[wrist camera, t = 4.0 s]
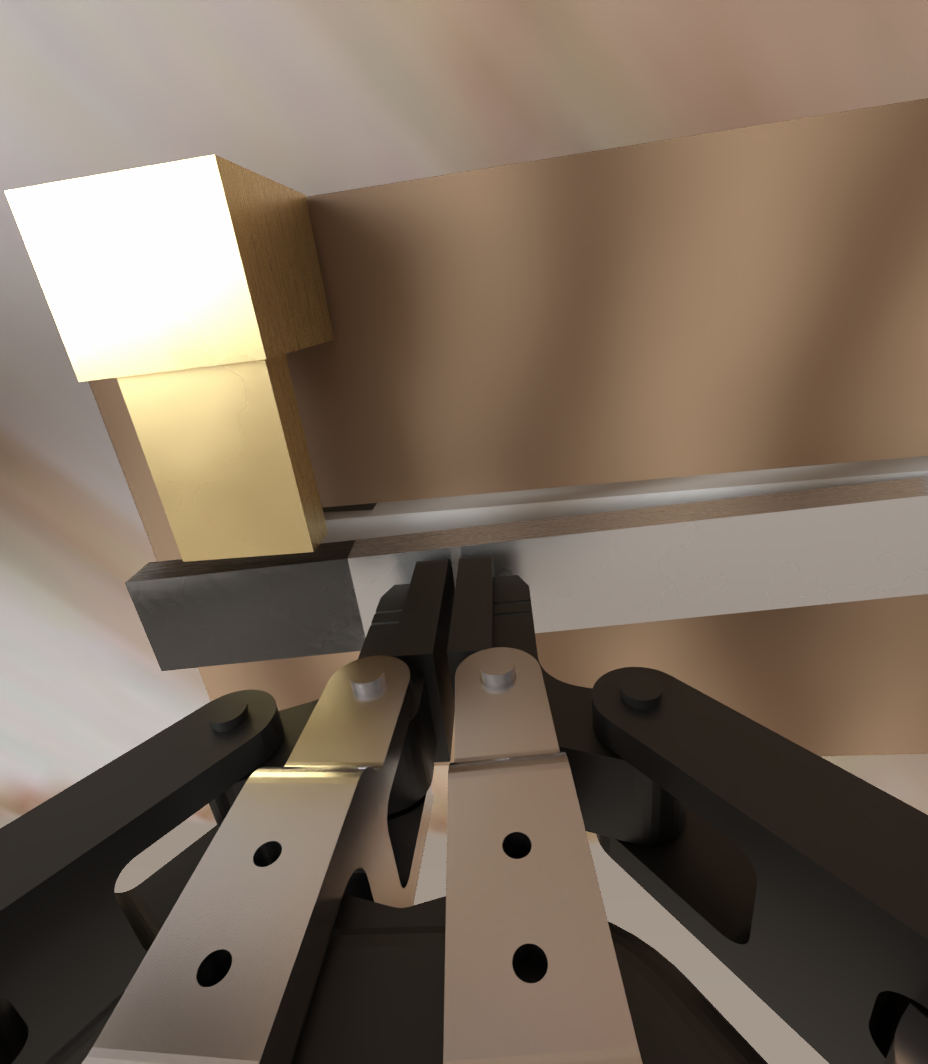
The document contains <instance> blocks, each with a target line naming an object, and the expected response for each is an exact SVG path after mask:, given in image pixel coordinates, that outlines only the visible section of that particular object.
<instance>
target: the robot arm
mask: <svg viewBox="0 0 928 1064" xmlns="http://www.w3.org/2000/svg"><path fill="white" fill-rule="evenodd" d="M454 716H455V761H454V762H453V763H450V764H449V772H448V817H447V875H446V879H447V880H446V896H445V897H442V898H438V899H435V900H432V901H428V902H424V903H421V904H418V905H414V899H415V894H416V889H417V884H418V878H419V873H420V868H421V863H422V857H423V852H424V847H425V841H426V836H427V831H428V826H429V820H430V815H431V810H432V804H433V793H432V787H431V782H432V777H433V769H434V763H435V762H450V760H451V749H452V738H453V727H454ZM208 803H209V805H210V808H211V810H212V813H213V815H214V818H215V820H216V823H217V825H216V826H215V827H214V828H213V829H211V830H210V831H209V832H207V833H206V834H205V835H203V836H202V837H201V838H199V840H197V841H196V842H194V843H193V844H192V845H190V846H189V847H188V848H186V849H185V850H184V851H183V852H181V853H180V854H179V855H178V856H176V857H175V858H173V859H172V860H171V861H170V862H168V863H167V864H166V865H164V866H163V867H162V868H161V869H159V870H158V871H157V872H155V873H154V874H153V875H151V876H150V877H149V878H148V879H146V880H145V881H144V882H142V883H141V884H140V885H138V886H137V887H135V888H133V889H132V890H129V891H127V892H123V893H114V887H115V883H116V880H117V878H118V876H119V874H120V873H121V871H122V870H123V868H124V867H125V866H126V865H127V864H128V863H129V862H130V861H131V860H132V859H133V858H134V857H136V856H137V855H138V854H140V853H141V852H142V851H144V850H145V849H146V848H148V847H149V846H151V845H152V844H153V843H154V842H156V841H157V840H159V839H160V838H161V837H163V836H164V835H165V834H167V833H168V832H170V831H171V830H172V829H174V828H175V827H176V826H178V825H179V824H181V823H182V822H183V821H185V820H186V819H187V818H189V817H190V816H191V815H193V814H194V813H196V812H197V811H198V810H200V809H201V808H202V807H204V806H205V805H206V804H208ZM586 831H588V832H592V833H596V834H597V838H598V840H599V843H600V845H601V846H602V848H603V849H604V851H605V852H606V853H607V854H608V855H609V856H610V857H611V858H612V859H613V860H614V861H615V862H616V863H617V864H618V865H619V866H621V868H623V869H624V870H625V871H626V872H627V873H628V874H629V875H630V876H631V877H632V878H633V879H634V880H635V881H637V883H638V884H640V885H641V886H642V887H643V888H644V889H645V890H646V891H647V892H648V893H649V894H650V895H651V896H652V897H653V898H654V899H656V900H657V901H658V902H659V903H660V904H661V905H662V906H663V907H664V908H665V909H666V910H667V911H668V912H669V913H670V914H672V916H674V917H675V918H676V919H677V920H678V921H679V922H680V923H681V924H682V925H683V926H684V927H685V928H686V929H687V930H688V931H690V932H691V933H692V934H693V935H694V936H695V937H696V938H697V939H698V940H699V941H700V942H701V943H702V944H703V945H704V946H705V947H706V948H708V949H709V950H710V951H711V952H712V953H713V954H714V955H715V956H716V957H717V958H718V959H719V960H720V961H721V962H722V963H723V964H725V965H726V966H727V967H728V968H729V969H730V970H731V971H732V972H733V973H734V974H735V975H736V976H737V977H738V978H739V979H741V980H742V981H743V982H744V983H745V984H746V985H747V986H748V987H749V988H750V989H751V990H752V991H753V992H754V993H755V994H757V996H758V997H760V998H761V999H762V1000H763V1001H764V1002H765V1003H766V1004H767V1005H768V1006H769V1007H770V1008H771V1009H772V1010H773V1011H775V1013H777V1014H778V1015H779V1016H780V1017H781V1018H782V1019H783V1020H784V1021H785V1022H786V1023H787V1024H788V1025H789V1026H790V1027H791V1028H793V1029H794V1030H795V1031H796V1032H797V1033H798V1034H799V1035H800V1036H801V1037H802V1038H803V1039H804V1040H805V1041H806V1042H807V1043H809V1044H810V1045H811V1046H812V1047H813V1048H814V1049H815V1050H816V1051H817V1052H818V1053H819V1054H820V1055H821V1056H822V1057H823V1058H824V1059H826V1061H828V1062H829V1063H830V1064H928V815H926V814H924V813H923V812H921V811H919V810H917V809H915V808H913V807H912V806H910V805H908V804H906V803H904V802H902V801H901V800H899V799H897V798H895V797H893V796H891V795H890V794H888V793H886V792H884V791H882V790H880V789H879V788H877V787H875V786H873V785H871V784H869V783H867V782H866V781H864V780H862V779H860V778H858V777H856V776H855V775H853V774H851V773H849V772H847V771H845V770H844V769H842V768H840V767H838V766H836V765H834V764H833V763H831V762H829V761H827V760H825V759H823V758H822V757H820V756H818V755H816V754H814V753H812V752H811V751H809V750H807V749H805V748H803V747H801V746H799V745H798V744H796V743H794V742H792V741H790V740H788V739H787V738H785V737H783V736H781V735H779V734H777V733H776V732H774V731H772V730H770V729H768V728H766V727H765V726H763V725H761V724H759V723H757V722H755V721H754V720H752V719H750V718H748V717H746V716H744V715H743V714H741V713H739V712H737V711H735V710H733V709H731V708H730V707H728V706H726V705H724V704H722V703H720V702H719V701H717V700H715V699H713V698H711V697H709V696H708V695H706V694H704V693H702V692H700V691H698V690H697V689H695V688H693V687H691V686H689V685H687V684H686V683H684V682H682V681H680V680H678V679H676V678H675V677H673V676H671V675H669V674H666V673H664V672H662V671H659V670H655V669H651V668H645V667H624V668H619V669H615V670H612V671H610V672H608V673H606V674H604V675H603V676H601V677H600V678H599V679H598V680H597V681H596V682H595V684H594V686H593V688H587V687H581V686H576V685H571V684H568V683H565V682H562V681H560V680H558V679H556V678H554V677H552V676H551V675H549V674H548V673H547V672H546V671H545V670H544V669H543V668H542V666H541V664H540V662H539V659H538V653H537V645H536V637H535V629H534V621H533V614H532V605H531V597H530V589H529V585H528V584H527V583H525V582H524V581H523V580H522V579H521V578H520V577H519V576H518V575H511V576H499V577H495V573H494V564H493V557H492V555H487V556H475V557H462V558H459V563H458V571H457V579H456V587H455V585H454V577H453V570H452V564H451V561H450V559H439V560H427V561H417V562H416V564H415V568H414V571H413V575H412V578H411V582H410V584H398V585H394V586H393V587H392V588H390V589H389V590H388V591H387V592H386V593H385V594H384V595H383V596H382V597H381V598H380V601H379V603H378V606H377V609H376V614H374V617H373V619H372V622H371V626H370V628H369V630H368V633H367V636H366V638H365V641H364V644H363V646H362V649H361V652H360V654H359V657H358V660H355V661H353V662H350V663H348V664H347V665H345V666H343V667H342V668H340V669H339V670H338V671H337V672H335V673H334V675H333V676H332V677H331V678H330V680H329V681H328V683H327V685H326V687H325V689H324V691H323V693H322V695H321V697H320V699H317V700H314V701H311V702H308V703H305V704H301V705H298V706H294V707H291V708H287V709H284V710H280V711H278V708H277V705H276V701H275V699H274V698H273V696H272V695H271V694H269V693H267V692H265V691H262V690H254V689H251V690H241V691H236V692H232V693H229V694H226V695H224V696H221V697H219V698H217V699H215V700H213V701H211V702H209V703H208V704H206V705H204V706H203V707H201V708H199V709H198V710H196V711H195V712H193V713H191V714H190V715H188V716H186V717H185V718H183V719H181V720H180V721H178V722H176V723H175V724H173V725H171V726H170V727H168V728H166V729H165V730H163V731H161V732H160V733H158V734H156V735H155V736H153V737H151V738H150V739H148V740H146V741H145V742H143V743H142V744H140V745H138V746H137V747H135V748H133V749H132V750H130V751H128V752H127V753H125V754H123V755H122V756H120V757H118V758H117V759H115V760H113V761H112V762H110V763H108V764H107V765H105V766H103V767H102V768H100V769H98V770H97V771H95V772H93V773H92V774H90V775H89V776H87V777H85V778H84V779H82V780H80V781H79V782H77V783H75V784H74V785H72V786H70V787H69V788H67V789H65V790H64V791H62V792H60V793H59V794H57V795H55V796H54V797H52V798H50V799H49V800H47V801H45V802H44V803H42V804H40V805H39V806H37V807H35V808H34V809H32V810H31V811H29V812H27V813H26V814H24V815H22V816H21V817H19V818H17V819H16V820H14V821H12V822H11V823H9V824H7V825H6V826H4V827H2V828H1V829H0V1064H768V1063H767V1062H766V1061H765V1060H764V1059H763V1058H762V1057H761V1056H760V1055H759V1054H758V1053H757V1052H756V1051H755V1050H754V1048H753V1047H752V1046H751V1045H750V1044H749V1043H748V1042H747V1041H746V1040H745V1039H744V1038H743V1037H742V1036H741V1035H740V1034H739V1033H738V1032H737V1031H736V1029H735V1028H734V1027H733V1026H732V1025H731V1024H730V1023H729V1022H728V1021H727V1020H726V1019H725V1018H724V1017H723V1016H722V1015H721V1013H719V1011H718V1010H717V1009H716V1008H715V1007H714V1006H713V1005H712V1004H711V1003H710V1002H709V1001H708V1000H707V999H706V998H705V997H704V995H703V994H702V993H701V992H700V991H699V990H698V989H697V988H696V987H695V986H694V985H693V984H692V983H691V982H690V981H689V980H688V979H687V978H686V977H685V976H684V975H683V974H682V973H681V972H680V971H679V970H678V969H677V968H676V967H675V966H674V965H673V964H672V963H671V962H669V961H668V960H667V959H666V958H665V957H663V956H662V955H661V954H660V953H659V952H658V951H656V950H655V949H654V948H652V947H650V946H649V945H648V944H646V943H645V942H643V941H642V940H641V939H639V938H638V937H636V936H635V935H633V934H631V933H629V932H627V931H625V930H623V929H622V928H620V927H618V926H616V925H614V924H612V923H610V922H608V921H607V917H606V912H605V909H604V904H603V900H602V896H601V892H600V888H599V884H598V880H597V876H596V871H595V867H594V863H593V859H592V855H591V851H590V847H589V843H588V839H587V834H586Z"/></svg>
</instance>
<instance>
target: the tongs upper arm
mask: <svg viewBox="0 0 928 1064" xmlns="http://www.w3.org/2000/svg"><path fill="white" fill-rule="evenodd" d="M487 555H492V557H493V564H494V573H495V577H499V576H511V575H518V576H519V577H520V578H521V579H522V580H523V581H524V582H525V583H527V584H528V585H529V589H530V597H531V605H532V614H533V621H534V629H535V633H544V632H554V631H564V630H574V629H584V628H594V627H603V626H613V625H623V624H633V623H643V622H653V621H663V620H673V619H683V618H693V617H703V616H713V615H723V614H733V613H743V612H752V611H762V610H772V609H782V608H792V607H802V606H812V605H822V604H832V603H842V602H852V601H862V600H872V599H882V598H892V597H901V596H911V595H921V594H928V477H919V478H910V479H901V480H892V481H883V482H874V483H865V484H856V485H847V486H837V487H828V488H819V489H810V490H801V491H792V492H783V493H774V494H765V495H756V496H747V497H738V498H729V499H720V500H711V501H702V502H693V503H684V504H675V505H666V506H657V507H648V508H638V509H629V510H620V511H611V512H602V513H593V514H584V515H575V516H566V517H557V518H548V519H539V520H530V521H521V522H512V523H503V524H494V525H485V526H476V527H467V528H458V529H449V530H439V531H430V532H421V533H412V534H403V535H394V536H385V537H376V538H367V539H358V540H349V541H340V542H331V543H322V544H319V546H318V547H317V548H316V550H315V551H314V552H307V553H294V554H281V555H267V556H254V557H241V558H227V559H214V560H201V561H188V562H183V560H182V559H177V560H168V561H159V562H150V563H148V564H147V565H146V566H144V567H143V568H142V569H141V570H140V571H139V572H137V573H136V574H135V575H134V576H133V577H132V578H130V579H129V580H128V581H127V582H126V583H125V584H126V586H127V589H128V591H129V593H130V596H131V598H132V601H133V603H134V605H135V608H136V610H137V613H138V615H139V617H140V620H141V622H142V625H143V627H144V629H145V632H146V634H147V637H148V639H149V641H150V644H151V646H152V649H153V651H154V653H155V656H156V658H157V661H158V663H159V666H160V668H161V670H162V671H166V670H176V669H186V668H196V667H206V666H216V665H226V664H236V663H246V662H256V661H266V660H276V659H286V658H296V657H305V656H315V655H325V654H335V653H345V652H355V651H361V649H362V646H363V644H364V641H365V638H366V636H367V633H368V630H369V628H370V626H371V622H372V619H373V617H374V614H376V609H377V606H378V603H379V601H380V598H381V597H382V596H383V595H384V594H385V593H386V592H387V591H388V590H389V589H390V588H392V587H393V586H394V585H398V584H410V582H411V578H412V575H413V571H414V568H415V564H416V562H417V561H427V560H439V559H450V561H451V564H452V570H453V577H454V585H455V587H456V579H457V571H458V563H459V558H462V557H475V556H487Z"/></svg>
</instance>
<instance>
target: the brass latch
mask: <svg viewBox="0 0 928 1064" xmlns="http://www.w3.org/2000/svg"><path fill="white" fill-rule="evenodd" d="M5 194H6V197H7V199H8V202H9V204H10V207H11V209H12V212H13V214H14V217H15V220H16V222H17V225H18V227H19V230H20V232H21V235H22V238H23V240H24V243H25V245H26V248H27V250H28V253H29V256H30V258H31V261H32V263H33V266H34V268H35V271H36V273H37V276H38V279H39V281H40V284H41V286H42V289H43V291H44V294H45V297H46V299H47V302H48V304H49V307H50V309H51V312H52V315H53V317H54V320H55V322H56V325H57V327H58V330H59V333H60V335H61V338H62V340H63V343H64V345H65V348H66V350H67V353H68V356H69V358H70V361H71V363H72V366H73V368H74V371H75V374H76V376H77V379H78V381H79V382H83V381H92V380H100V379H108V378H117V380H118V383H119V386H120V389H121V391H122V394H123V397H124V400H125V402H126V405H127V408H128V411H129V414H130V416H131V419H132V422H133V425H134V427H135V430H136V433H137V436H138V438H139V441H140V444H141V447H142V449H143V452H144V455H145V458H146V461H147V463H148V466H149V469H150V472H151V474H152V477H153V480H154V483H155V485H156V488H157V491H158V494H159V496H160V499H161V502H162V505H163V507H164V510H165V513H166V516H167V519H168V521H169V524H170V527H171V530H172V532H173V535H174V538H175V541H176V543H177V546H178V549H179V552H180V554H181V557H182V560H183V562H188V561H201V560H214V559H227V558H241V557H254V556H267V555H281V554H294V553H307V552H314V551H315V550H316V548H317V547H318V546H319V544H320V543H321V542H322V540H323V539H324V538H325V536H326V535H327V534H328V530H327V526H326V522H325V518H324V513H323V509H322V505H321V501H320V497H319V492H318V488H317V484H316V480H315V476H314V471H313V467H312V463H311V459H310V455H309V451H308V446H307V442H306V438H305V434H304V430H303V425H302V421H301V417H300V413H299V409H298V404H297V400H296V396H295V392H294V388H293V384H292V379H291V375H290V371H289V367H288V363H287V358H286V353H290V352H293V351H296V350H300V349H303V348H307V347H310V346H314V345H317V344H321V343H324V342H328V341H331V340H334V334H333V329H332V324H331V319H330V314H329V309H328V304H327V299H326V294H325V289H324V284H323V280H322V275H321V270H320V265H319V260H318V255H317V250H316V245H315V240H314V235H313V230H312V225H311V220H310V215H309V210H308V206H307V201H306V196H305V195H304V194H302V193H299V192H297V191H295V190H293V189H290V188H288V187H286V186H284V185H281V184H279V183H277V182H275V181H273V180H270V179H268V178H266V177H264V176H261V175H259V174H257V173H255V172H252V171H250V170H248V169H246V168H243V167H241V166H239V165H237V164H234V163H232V162H230V161H228V160H226V159H223V158H221V157H219V156H217V155H209V156H204V157H198V158H192V159H186V160H180V161H175V162H169V163H163V164H157V165H151V166H146V167H140V168H134V169H128V170H122V171H117V172H111V173H105V174H99V175H93V176H88V177H82V178H76V179H70V180H64V181H58V182H53V183H47V184H41V185H35V186H29V187H24V188H18V189H12V190H6V191H5Z"/></svg>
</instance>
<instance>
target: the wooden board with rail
mask: <svg viewBox="0 0 928 1064" xmlns="http://www.w3.org/2000/svg"><path fill="white" fill-rule="evenodd" d="M306 201H307V206H308V210H309V215H310V220H311V225H312V230H313V235H314V240H315V245H316V250H317V255H318V260H319V265H320V270H321V275H322V280H323V284H324V289H325V294H326V299H327V304H328V309H329V314H330V319H331V324H332V329H333V334H334V340H331V341H328V342H324V343H321V344H317V345H314V346H310V347H307V348H303V349H300V350H296V351H293V352H290V353H286V358H287V363H288V367H289V371H290V375H291V379H292V384H293V388H294V392H295V396H296V400H297V404H298V409H299V413H300V417H301V421H302V425H303V430H304V434H305V438H306V442H307V446H308V451H309V455H310V459H311V463H312V467H313V471H314V476H315V480H316V484H317V488H318V492H319V497H320V501H321V505H322V509H323V513H324V518H325V522H326V526H327V530H328V534H327V535H326V536H325V538H324V539H323V540H322V542H321V543H320V544H322V543H331V542H340V541H349V540H358V539H367V538H376V537H385V536H394V535H403V534H412V533H421V532H430V531H439V530H449V529H458V528H467V527H476V526H485V525H494V524H503V523H512V522H521V521H530V520H539V519H548V518H557V517H566V516H575V515H584V514H593V513H602V512H611V511H620V510H629V509H638V508H648V507H657V506H666V505H675V504H684V503H693V502H702V501H711V500H720V499H729V498H738V497H747V496H756V495H765V494H774V493H783V492H792V491H801V490H810V489H819V488H828V487H837V486H847V485H856V484H865V483H874V482H883V481H892V480H901V479H910V478H919V477H928V98H927V99H921V100H914V101H908V102H902V103H895V104H889V105H883V106H876V107H870V108H864V109H858V110H851V111H845V112H839V113H832V114H826V115H820V116H813V117H807V118H801V119H794V120H788V121H782V122H776V123H769V124H763V125H757V126H750V127H744V128H738V129H731V130H725V131H719V132H713V133H706V134H700V135H694V136H687V137H681V138H675V139H668V140H662V141H656V142H649V143H643V144H637V145H631V146H624V147H618V148H612V149H605V150H599V151H593V152H586V153H580V154H574V155H568V156H561V157H555V158H549V159H542V160H536V161H530V162H523V163H517V164H511V165H504V166H498V167H492V168H486V169H479V170H473V171H467V172H460V173H454V174H448V175H441V176H435V177H429V178H423V179H416V180H410V181H404V182H397V183H391V184H385V185H378V186H372V187H366V188H359V189H353V190H347V191H341V192H334V193H328V194H322V195H315V196H309V197H306ZM88 382H89V384H90V387H91V389H92V392H93V395H94V397H95V400H96V402H97V405H98V408H99V410H100V413H101V416H102V418H103V421H104V423H105V426H106V429H107V431H108V434H109V436H110V439H111V442H112V444H113V447H114V449H115V452H116V455H117V457H118V460H119V463H120V465H121V468H122V470H123V473H124V476H125V478H126V481H127V483H128V486H129V489H130V491H131V494H132V497H133V499H134V502H135V504H136V507H137V510H138V512H139V515H140V517H141V520H142V523H143V525H144V528H145V530H146V533H147V536H148V538H149V541H150V544H151V546H152V549H153V551H154V554H155V557H156V559H157V562H159V561H168V560H177V559H182V557H181V554H180V552H179V549H178V546H177V543H176V541H175V538H174V535H173V532H172V530H171V527H170V524H169V521H168V519H167V516H166V513H165V510H164V507H163V505H162V502H161V499H160V496H159V494H158V491H157V488H156V485H155V483H154V480H153V477H152V474H151V472H150V469H149V466H148V463H147V461H146V458H145V455H144V452H143V449H142V447H141V444H140V441H139V438H138V436H137V433H136V430H135V427H134V425H133V422H132V419H131V416H130V414H129V411H128V408H127V405H126V402H125V400H124V397H123V394H122V391H121V389H120V386H119V383H118V380H117V378H108V379H100V380H92V381H88ZM535 637H536V645H537V653H538V659H539V662H540V664H541V666H542V668H543V669H544V670H545V671H546V672H547V673H548V674H549V675H551V676H552V677H554V678H556V679H558V680H560V681H562V682H565V683H568V684H571V685H576V686H581V687H587V688H593V686H594V684H595V682H596V681H597V680H598V679H599V678H600V677H601V676H603V675H604V674H606V673H608V672H610V671H612V670H615V669H619V668H624V667H645V668H651V669H655V670H659V671H662V672H664V673H666V674H669V675H671V676H673V677H675V678H676V679H678V680H680V681H682V682H684V683H686V684H687V685H689V686H691V687H693V688H695V689H697V690H698V691H700V692H702V693H704V694H706V695H708V696H709V697H711V698H713V699H715V700H717V701H719V702H720V703H722V704H724V705H726V706H728V707H730V708H731V709H733V710H735V711H737V712H739V713H741V714H743V715H744V716H746V717H748V718H750V719H752V720H754V721H755V722H757V723H759V724H761V725H763V726H765V727H766V728H768V729H770V730H772V731H774V732H776V733H777V734H779V735H781V736H783V737H785V738H787V739H788V740H790V741H792V742H794V743H796V744H798V745H799V746H801V747H803V748H805V749H807V750H809V751H811V752H812V753H814V754H816V755H818V756H843V755H883V754H924V753H928V594H921V595H911V596H901V597H892V598H882V599H872V600H862V601H852V602H842V603H832V604H822V605H812V606H802V607H792V608H782V609H772V610H762V611H752V612H743V613H733V614H723V615H713V616H703V617H693V618H683V619H673V620H663V621H653V622H643V623H633V624H623V625H613V626H603V627H594V628H584V629H574V630H564V631H554V632H544V633H535ZM360 652H361V651H355V652H345V653H335V654H325V655H315V656H305V657H296V658H286V659H276V660H266V661H256V662H246V663H236V664H226V665H216V666H206V667H198V669H199V672H200V674H201V677H202V679H203V682H204V685H205V687H206V690H207V692H208V695H209V698H210V700H211V701H213V700H215V699H217V698H219V697H221V696H224V695H226V694H229V693H232V692H236V691H241V690H251V689H254V690H262V691H265V692H267V693H269V694H271V695H272V696H273V698H274V699H275V701H276V705H277V708H278V711H280V710H284V709H287V708H291V707H294V706H298V705H301V704H305V703H308V702H311V701H314V700H317V699H320V697H321V695H322V693H323V691H324V689H325V687H326V685H327V683H328V681H329V680H330V678H331V677H332V676H333V675H334V673H335V672H337V671H338V670H339V669H340V668H342V667H343V666H345V665H347V664H348V663H350V662H353V661H355V660H358V657H359V654H360ZM454 761H455V716H454V727H453V738H452V749H451V760H450V762H435V763H434V766H438V765H449V764H450V763H453V762H454Z"/></svg>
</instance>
